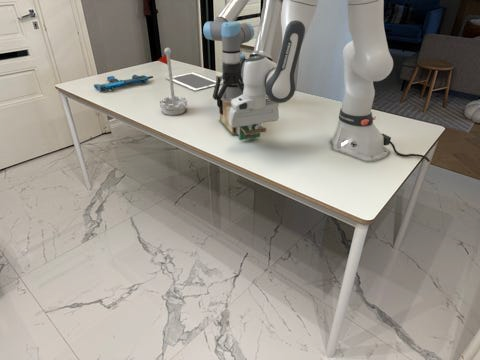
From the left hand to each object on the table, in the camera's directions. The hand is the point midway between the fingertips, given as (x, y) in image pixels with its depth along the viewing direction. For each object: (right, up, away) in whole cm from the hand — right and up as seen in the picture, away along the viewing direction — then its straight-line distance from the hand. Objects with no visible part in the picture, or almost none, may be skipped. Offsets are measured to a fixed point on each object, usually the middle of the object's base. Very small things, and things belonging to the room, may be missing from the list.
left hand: (232, 111), depth 156 cm
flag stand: (-29, +3, +14) cm, 33 cm away
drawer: (+6, -11, -10) cm, 17 cm away
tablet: (-25, +30, +55) cm, 67 cm away
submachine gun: (-68, +28, +52) cm, 90 cm away
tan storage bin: (+2, -7, -1) cm, 7 cm away
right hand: (+9, -13, -19) cm, 25 cm away
